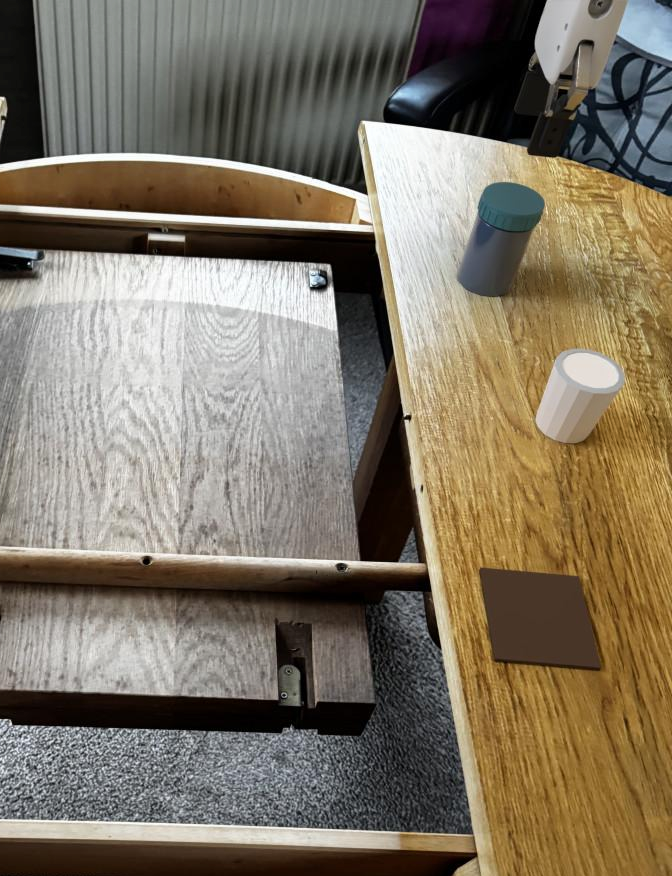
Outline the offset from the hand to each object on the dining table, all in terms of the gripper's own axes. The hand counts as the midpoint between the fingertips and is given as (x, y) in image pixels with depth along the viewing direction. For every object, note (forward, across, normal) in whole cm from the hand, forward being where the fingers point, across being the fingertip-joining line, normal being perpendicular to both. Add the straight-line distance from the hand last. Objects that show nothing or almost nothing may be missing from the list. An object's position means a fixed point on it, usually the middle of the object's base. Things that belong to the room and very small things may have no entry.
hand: (534, 133), depth 97 cm
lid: (+7, 0, 0) cm, 7 cm away
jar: (+17, 0, 0) cm, 17 cm away
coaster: (+17, -51, +2) cm, 54 cm away
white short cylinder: (+17, -25, -5) cm, 31 cm away
